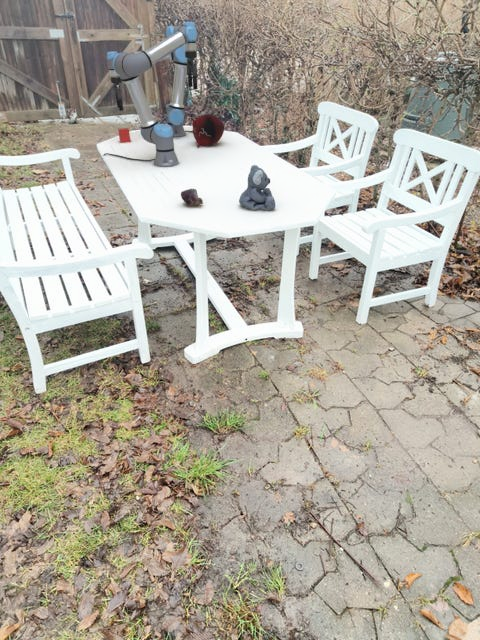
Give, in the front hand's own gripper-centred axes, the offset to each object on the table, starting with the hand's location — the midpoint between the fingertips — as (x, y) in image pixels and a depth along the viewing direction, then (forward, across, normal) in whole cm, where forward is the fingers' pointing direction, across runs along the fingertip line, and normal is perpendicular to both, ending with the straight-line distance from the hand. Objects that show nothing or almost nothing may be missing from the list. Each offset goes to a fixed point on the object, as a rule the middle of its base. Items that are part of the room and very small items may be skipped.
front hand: (192, 88), depth 298 cm
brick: (+40, +47, +45) cm, 77 cm away
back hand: (+17, +47, +45) cm, 67 cm away
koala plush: (+40, -117, -2) cm, 124 cm away
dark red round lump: (+40, +17, -13) cm, 46 cm away
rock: (+40, -105, +29) cm, 116 cm away
